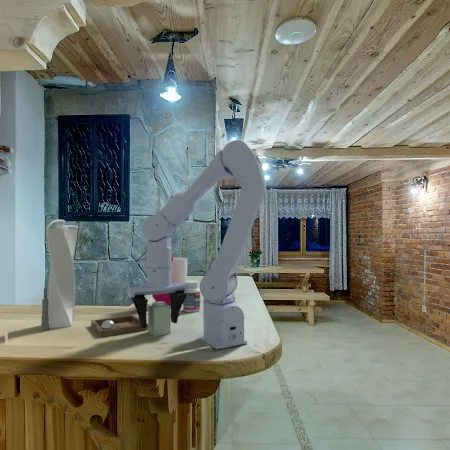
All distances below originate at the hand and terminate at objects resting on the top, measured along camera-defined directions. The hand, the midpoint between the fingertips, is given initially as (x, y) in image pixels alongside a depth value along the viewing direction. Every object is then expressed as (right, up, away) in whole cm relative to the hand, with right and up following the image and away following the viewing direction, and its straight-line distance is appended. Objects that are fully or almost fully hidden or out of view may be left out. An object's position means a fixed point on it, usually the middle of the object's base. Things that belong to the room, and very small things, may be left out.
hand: (159, 324), depth 82 cm
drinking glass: (-1, -3, +39) cm, 40 cm away
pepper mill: (-4, -3, +29) cm, 30 cm away
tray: (-11, -3, +4) cm, 12 cm away
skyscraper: (-27, -3, +7) cm, 28 cm away
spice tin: (0, -3, 0) cm, 2 cm away
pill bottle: (+5, -3, +26) cm, 26 cm away
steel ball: (-12, -2, 0) cm, 12 cm away
